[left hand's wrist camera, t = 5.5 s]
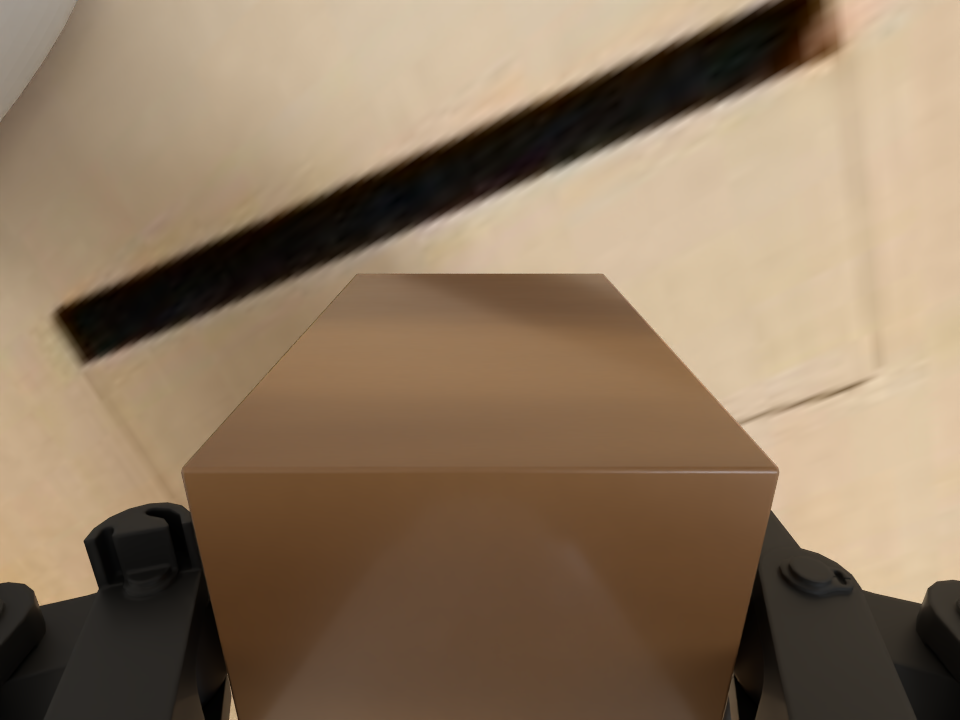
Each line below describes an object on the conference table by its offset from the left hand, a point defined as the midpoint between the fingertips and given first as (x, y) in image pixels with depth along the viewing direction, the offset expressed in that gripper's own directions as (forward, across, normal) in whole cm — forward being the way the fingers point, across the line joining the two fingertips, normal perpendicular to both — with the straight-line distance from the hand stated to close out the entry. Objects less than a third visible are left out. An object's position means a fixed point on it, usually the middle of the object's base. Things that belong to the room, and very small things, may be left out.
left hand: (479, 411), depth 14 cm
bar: (0, 0, -8) cm, 8 cm away
